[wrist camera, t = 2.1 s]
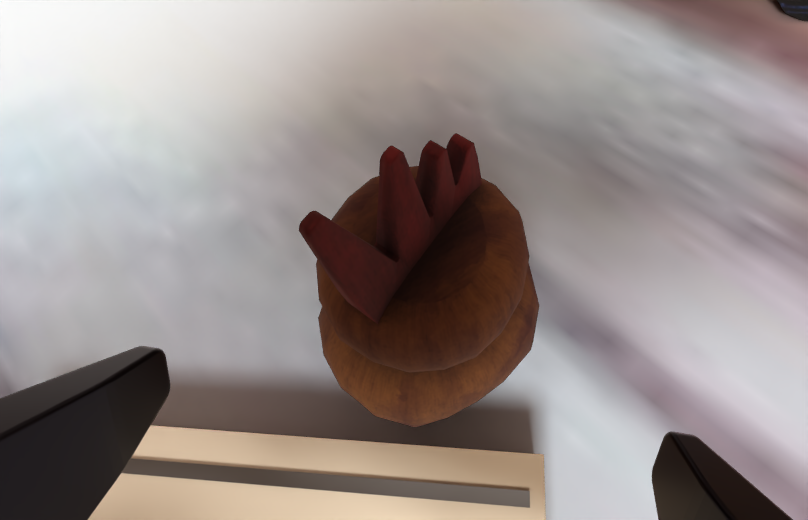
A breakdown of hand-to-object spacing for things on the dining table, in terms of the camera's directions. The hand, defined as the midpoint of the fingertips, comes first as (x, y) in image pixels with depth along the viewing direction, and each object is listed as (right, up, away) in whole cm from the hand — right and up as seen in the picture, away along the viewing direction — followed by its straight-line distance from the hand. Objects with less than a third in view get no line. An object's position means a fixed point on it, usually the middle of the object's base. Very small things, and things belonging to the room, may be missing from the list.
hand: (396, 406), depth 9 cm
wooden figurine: (+1, -1, +12) cm, 12 cm away
